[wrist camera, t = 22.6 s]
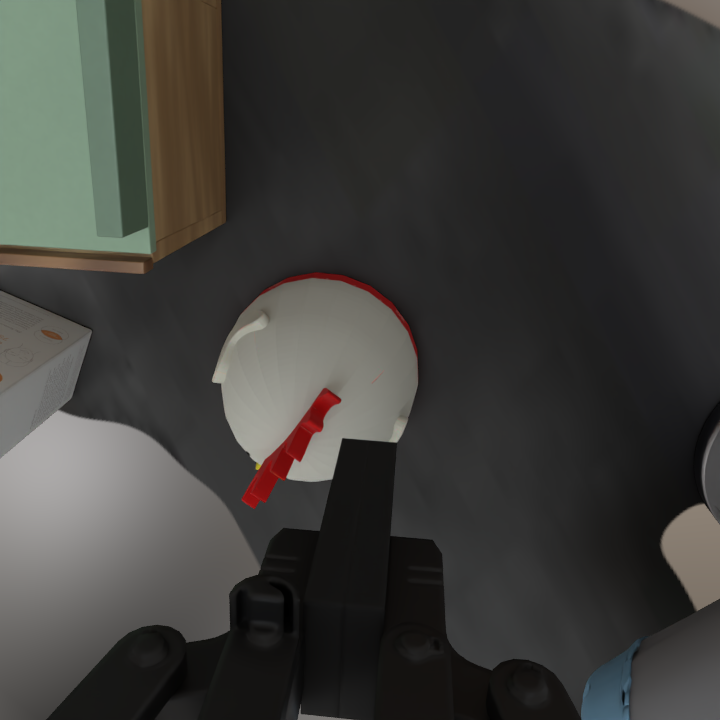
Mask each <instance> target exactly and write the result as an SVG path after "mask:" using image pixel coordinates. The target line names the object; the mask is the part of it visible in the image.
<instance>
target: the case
mask: <svg viewBox="0 0 720 720" xmlns="http://www.w3.org/2000/svg"><path fill="white" fill-rule="evenodd" d="M141 3H142V19H143V36H144V53H145V69H146V86H147V102H148V119H149V135H150V152H151V168H152V185H153V201H154V218H155V234H156V251H155V252H154V253H152V254H140V253H124V252H109V251H93V250H78V249H62V248H47V247H31V246H15V245H0V265H16V266H31V267H46V268H61V269H76V270H91V271H106V272H121V273H137V274H145V273H147V272H148V271H150V270H152V269H153V263H155V262H157V261H158V260H160V259H162V258H164V257H165V256H167V255H169V254H171V253H173V252H174V251H176V250H178V249H180V248H181V247H183V246H185V245H187V244H188V243H190V242H192V241H194V240H195V239H197V238H199V237H201V236H203V235H204V234H206V233H208V232H210V231H211V230H213V229H215V228H217V227H218V226H220V225H222V224H224V223H226V191H225V148H224V106H223V63H222V20H221V0H141Z"/></svg>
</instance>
